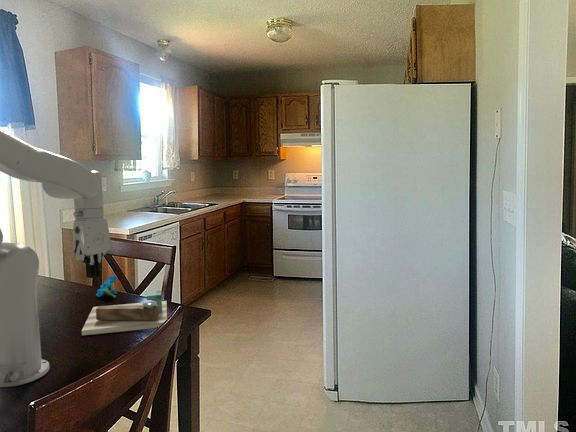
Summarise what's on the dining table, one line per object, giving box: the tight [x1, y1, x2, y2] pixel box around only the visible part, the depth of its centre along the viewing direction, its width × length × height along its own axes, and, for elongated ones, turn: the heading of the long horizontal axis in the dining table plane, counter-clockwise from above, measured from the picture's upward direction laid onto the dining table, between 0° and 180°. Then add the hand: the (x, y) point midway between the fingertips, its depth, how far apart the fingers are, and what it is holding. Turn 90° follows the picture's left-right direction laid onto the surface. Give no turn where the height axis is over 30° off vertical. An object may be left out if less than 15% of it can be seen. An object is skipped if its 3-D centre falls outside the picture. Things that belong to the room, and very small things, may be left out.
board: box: [81, 300, 168, 336], centre depth 141 cm, size 22×24×2 cm
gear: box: [95, 274, 118, 299], centre depth 167 cm, size 11×6×10 cm
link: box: [96, 305, 159, 320], centre depth 136 cm, size 18×4×4 cm, turn 91°
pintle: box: [142, 300, 156, 308], centre depth 136 cm, size 4×4×5 cm
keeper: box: [146, 290, 163, 313], centre depth 144 cm, size 5×4×6 cm
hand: (93, 276), depth 127 cm, fingers closed
